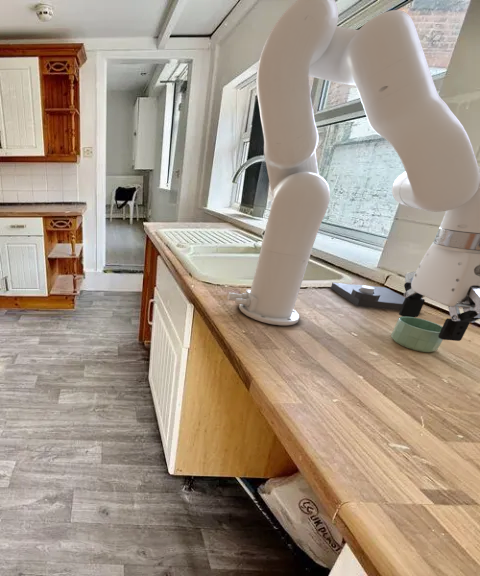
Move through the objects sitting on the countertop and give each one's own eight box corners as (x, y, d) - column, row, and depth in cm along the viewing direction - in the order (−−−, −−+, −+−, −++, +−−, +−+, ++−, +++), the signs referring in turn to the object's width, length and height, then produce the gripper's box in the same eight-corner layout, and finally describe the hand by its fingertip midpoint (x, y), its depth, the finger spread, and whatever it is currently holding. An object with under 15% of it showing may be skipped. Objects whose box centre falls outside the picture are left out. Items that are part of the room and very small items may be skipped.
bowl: (406, 351, 59) (416, 330, 58) (382, 333, 66) (390, 314, 64) (446, 355, 58) (458, 334, 57) (418, 337, 65) (427, 318, 63)
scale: (356, 306, 79) (361, 294, 77) (329, 288, 91) (333, 277, 90) (419, 313, 77) (425, 300, 75) (383, 293, 89) (387, 282, 87)
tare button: (363, 294, 79) (365, 288, 78) (357, 290, 81) (359, 284, 80) (374, 295, 78) (377, 289, 78) (368, 291, 81) (370, 285, 80)
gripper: (550, 254, 45) (494, 353, 51) (447, 233, 61) (414, 310, 67) (490, 251, 47) (442, 348, 53) (404, 231, 62) (375, 307, 69)
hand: (426, 326), depth 60 cm, fingers open, 9 cm apart
